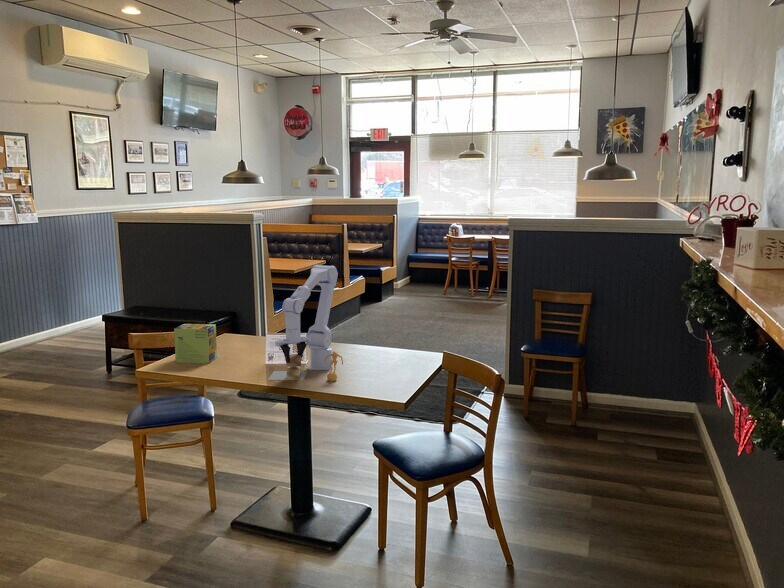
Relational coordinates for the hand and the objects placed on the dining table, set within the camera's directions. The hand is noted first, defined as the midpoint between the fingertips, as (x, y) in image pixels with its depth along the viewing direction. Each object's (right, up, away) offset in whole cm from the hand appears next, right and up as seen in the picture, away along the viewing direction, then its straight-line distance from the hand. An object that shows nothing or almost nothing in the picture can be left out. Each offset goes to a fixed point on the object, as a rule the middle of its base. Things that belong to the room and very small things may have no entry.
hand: (293, 361), depth 245 cm
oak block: (0, -7, +1) cm, 7 cm away
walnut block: (0, -2, 0) cm, 2 cm away
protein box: (-48, -3, +28) cm, 56 cm away
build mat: (-3, -7, +4) cm, 8 cm away
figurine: (+16, -8, -1) cm, 18 cm away
